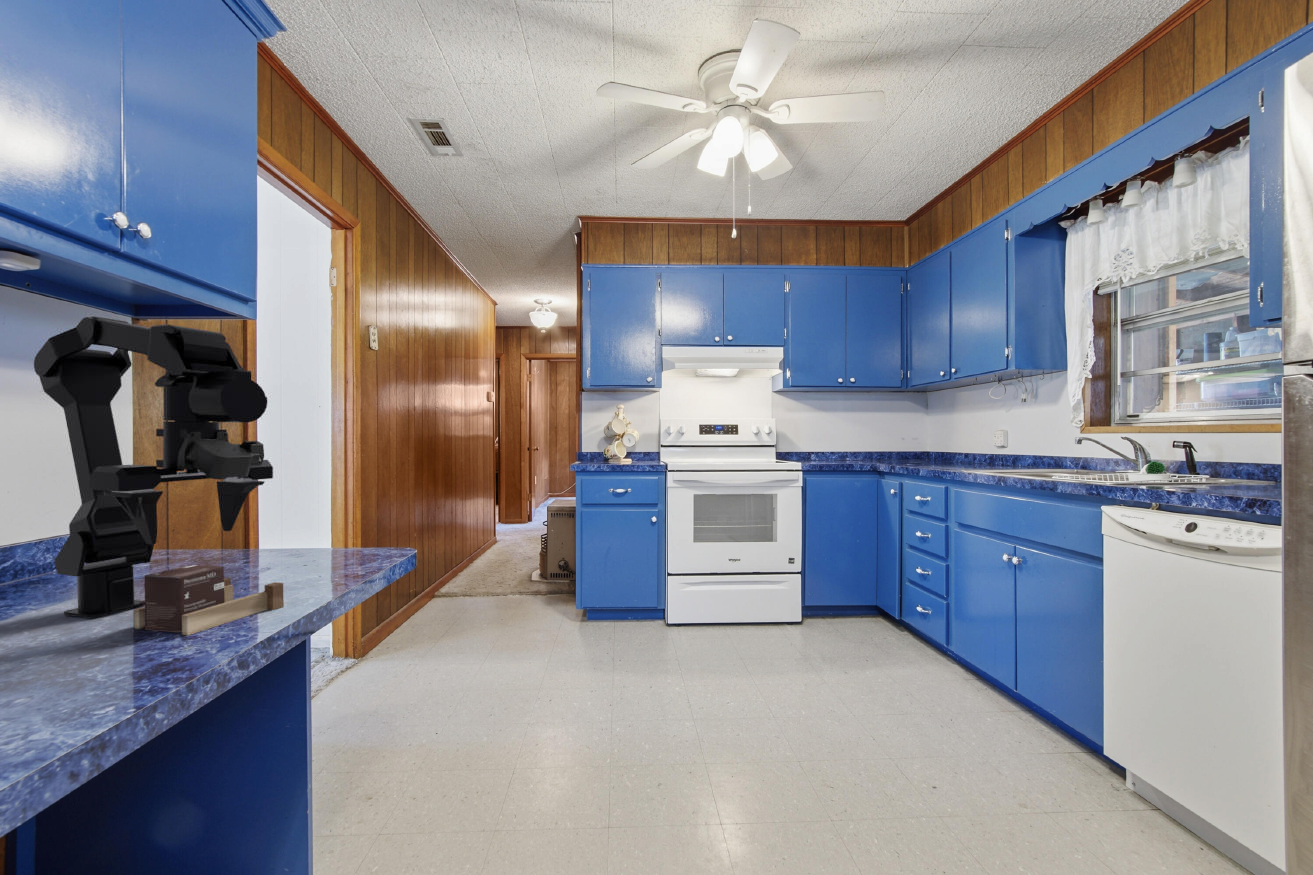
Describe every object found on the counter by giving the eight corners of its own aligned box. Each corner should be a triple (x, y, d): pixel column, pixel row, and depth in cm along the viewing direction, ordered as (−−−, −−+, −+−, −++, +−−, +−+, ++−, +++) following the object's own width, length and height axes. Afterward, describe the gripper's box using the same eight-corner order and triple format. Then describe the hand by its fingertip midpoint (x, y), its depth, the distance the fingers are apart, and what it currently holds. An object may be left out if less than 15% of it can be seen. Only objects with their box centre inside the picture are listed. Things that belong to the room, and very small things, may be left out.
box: (179, 634, 69) (178, 577, 69) (143, 631, 70) (142, 575, 70) (226, 618, 75) (225, 565, 75) (191, 615, 76) (191, 564, 76)
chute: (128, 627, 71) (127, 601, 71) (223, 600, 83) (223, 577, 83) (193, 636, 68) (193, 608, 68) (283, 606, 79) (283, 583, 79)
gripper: (151, 421, 61) (151, 558, 61) (302, 423, 79) (301, 529, 79) (86, 420, 64) (86, 550, 64) (245, 422, 82) (244, 524, 82)
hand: (191, 537), depth 72 cm, fingers open, 9 cm apart
